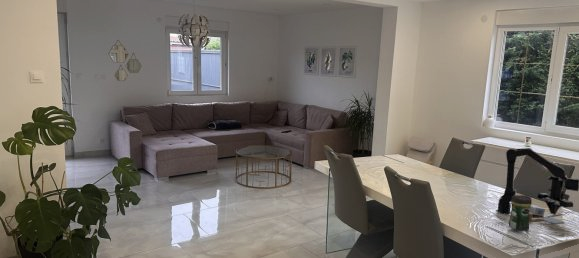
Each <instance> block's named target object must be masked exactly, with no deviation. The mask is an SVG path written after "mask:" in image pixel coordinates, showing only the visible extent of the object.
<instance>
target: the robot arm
mask: <svg viewBox="0 0 579 258" xmlns="http://www.w3.org/2000/svg"><path fill="white" fill-rule="evenodd" d="M505 155H506V157H505V158H506V161H507V170H506V171H507V172H506V183H505V184H506V185H505V190H504V193H503V195H501V196H499V199H498V204H497V209H495V212H498V213H500V214H502V215H507V214H510V215H511V209H512V204H511V199H512V196H513V195H515V196H516V195H517V189H516V188H515V187H514V180H515V166H516V161H517V158H518V157H524V156H528V157H529V158H531V159H533V160H534V161H536V163H539V165H541V166H543V167H545V169H546V170H548V171H549V172H550V173H551V175H550V176H548V177H547V180H551V181H550V188H548V191H549V193H546V192H538V194H537V197H536V198H537V199H540V200H543V199H545V200H544V202H545V204H546V206H547V208H548V210H549V214H552V215H553V216H555V215H556V214H557V213H558V211H559V209H560V208H561V207H563V208H573V207H574V202H573V201H570V200H569V199H570V196H571V195H569V194H567V193H565V190H563V188H564V189H566V190H567V191H572V192H579V178H572V177H571V178H569V177H568V175H567V174H565V173H566V172H565V168H564V167H563V166H561V165H559V164H557V163H554V162H552V161H550V160H548V159H547V158H546V157H544V156H542V155H541V154H539V153H538V152H536V151H535V150H533V149H532V148H530V147H525V148H524V147H523V148H515V147H510V148H508V149H507V151H506V152H505Z"/></svg>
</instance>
